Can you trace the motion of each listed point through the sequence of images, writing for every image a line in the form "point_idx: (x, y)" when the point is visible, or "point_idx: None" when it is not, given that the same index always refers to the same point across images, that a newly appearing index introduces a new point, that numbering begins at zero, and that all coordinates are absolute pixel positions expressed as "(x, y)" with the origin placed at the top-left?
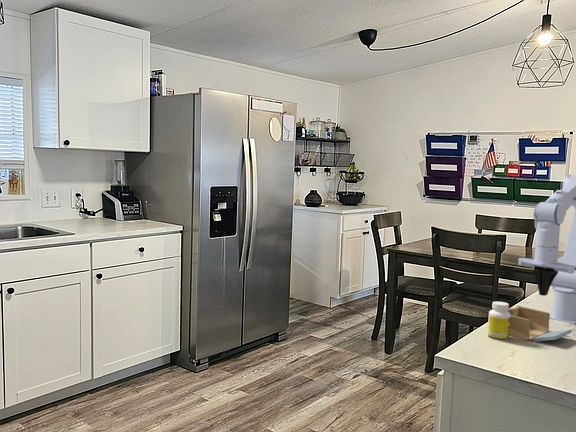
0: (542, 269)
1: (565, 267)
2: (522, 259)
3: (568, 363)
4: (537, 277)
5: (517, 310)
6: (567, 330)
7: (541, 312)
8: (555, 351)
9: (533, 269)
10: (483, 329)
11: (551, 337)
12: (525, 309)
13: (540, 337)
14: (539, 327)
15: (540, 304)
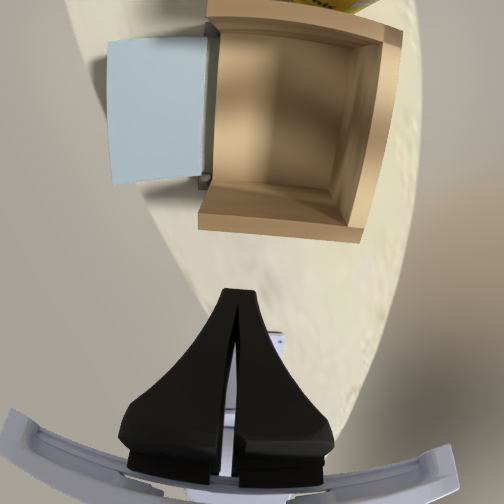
0: (239, 468)
1: (26, 458)
2: (434, 497)
3: None
4: (269, 384)
5: (348, 202)
6: (116, 165)
7: (232, 214)
8: (119, 29)
9: (323, 453)
10: (411, 75)
11: (124, 40)
12: (316, 221)
13: (176, 47)
14: (241, 184)
15: (326, 396)
